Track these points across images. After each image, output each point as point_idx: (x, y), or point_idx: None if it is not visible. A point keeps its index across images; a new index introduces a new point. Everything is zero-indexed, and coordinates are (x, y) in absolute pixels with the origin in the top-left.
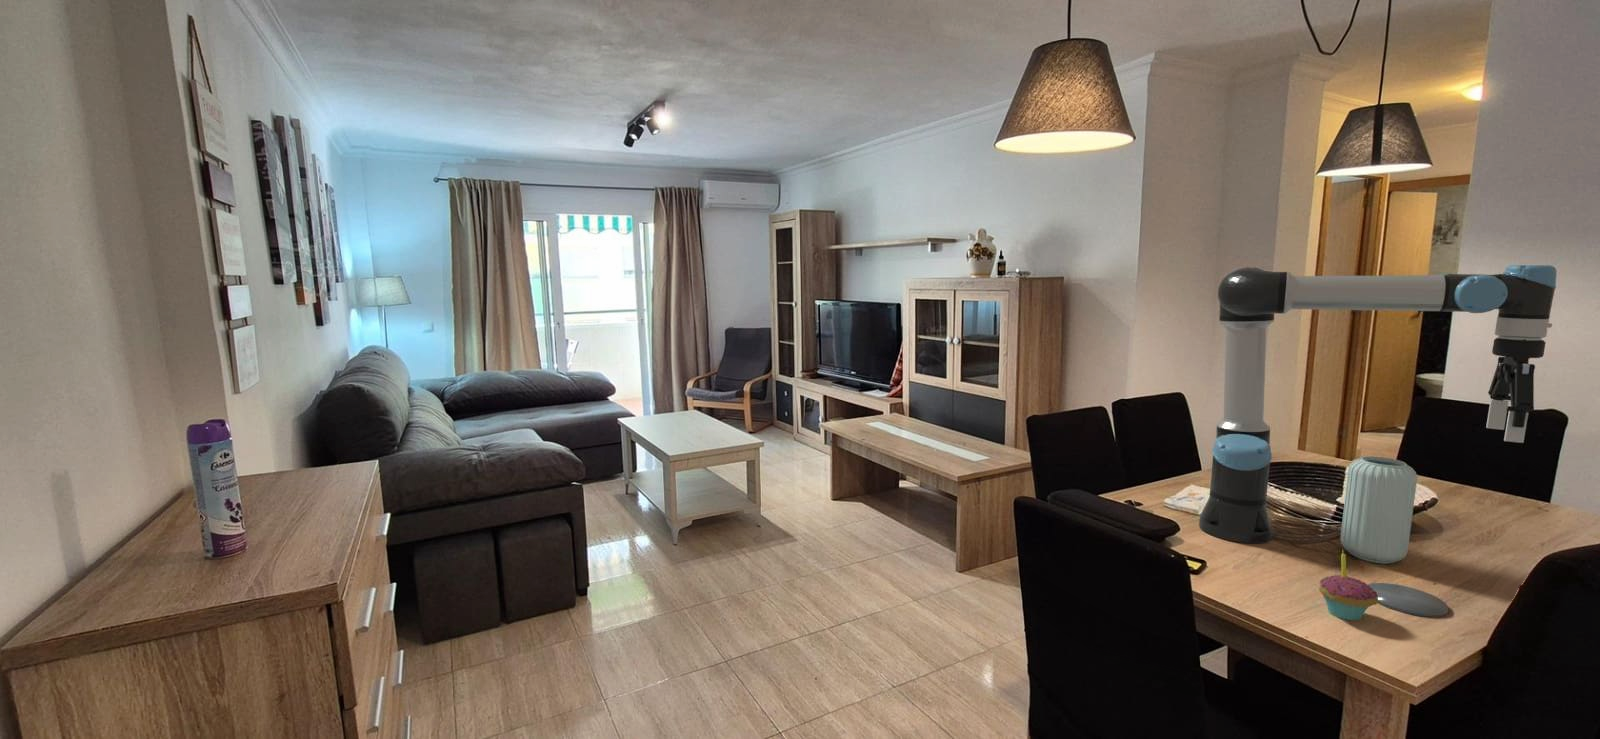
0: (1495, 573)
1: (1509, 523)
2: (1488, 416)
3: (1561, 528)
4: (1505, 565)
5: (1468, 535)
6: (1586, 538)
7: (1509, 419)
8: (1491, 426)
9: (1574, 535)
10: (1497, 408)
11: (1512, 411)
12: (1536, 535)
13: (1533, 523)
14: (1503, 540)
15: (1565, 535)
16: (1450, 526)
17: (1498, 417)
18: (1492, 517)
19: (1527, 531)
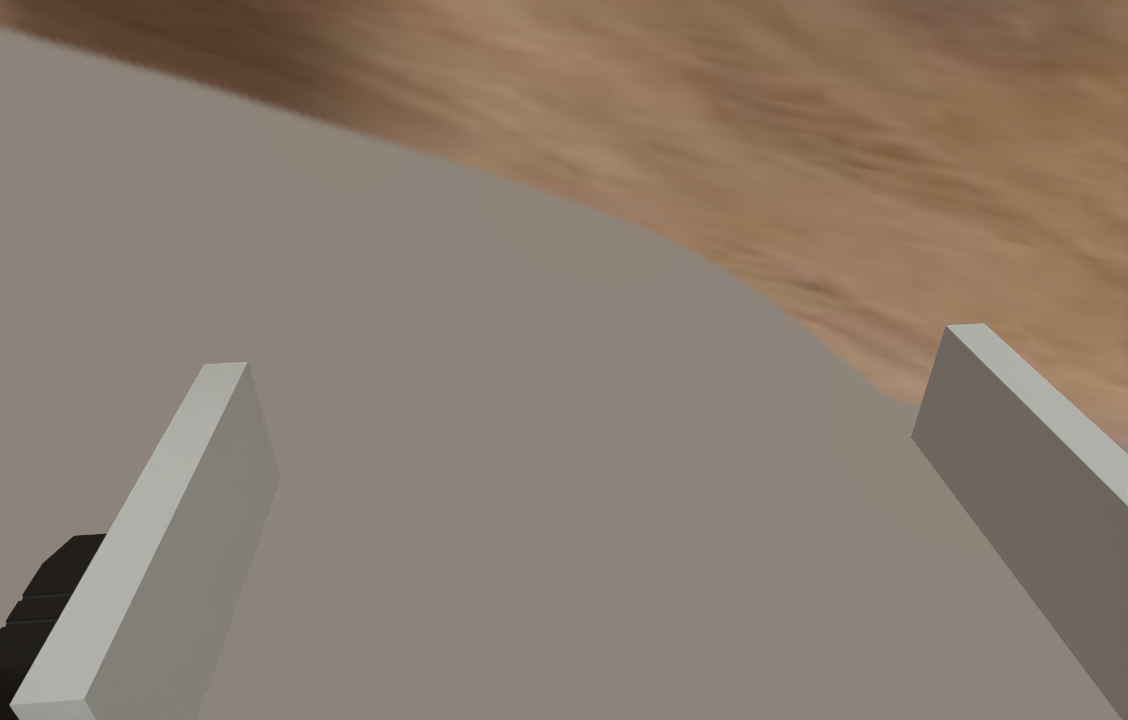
0: (335, 75)
1: (1044, 242)
2: (1052, 408)
3: None
4: (471, 129)
5: (818, 69)
6: None
7: (84, 576)
8: (951, 368)
9: None
10: (1093, 557)
11: (20, 718)
12: (918, 292)
13: (1066, 310)
14: (806, 182)
15: None
16: (928, 20)
17: (999, 482)
18: (1111, 202)
19: (958, 276)
